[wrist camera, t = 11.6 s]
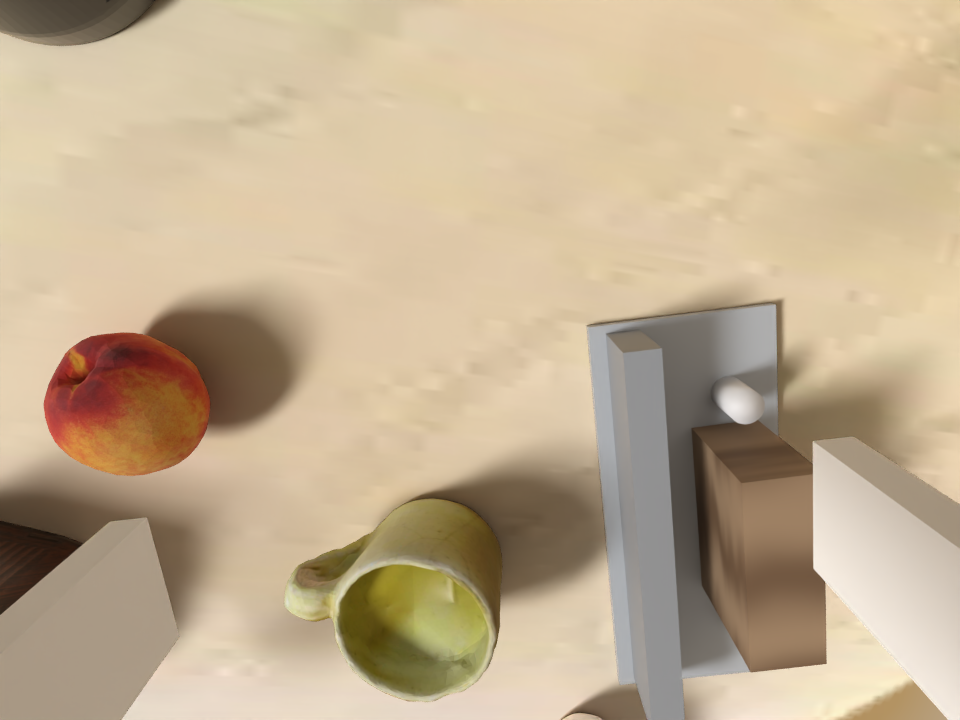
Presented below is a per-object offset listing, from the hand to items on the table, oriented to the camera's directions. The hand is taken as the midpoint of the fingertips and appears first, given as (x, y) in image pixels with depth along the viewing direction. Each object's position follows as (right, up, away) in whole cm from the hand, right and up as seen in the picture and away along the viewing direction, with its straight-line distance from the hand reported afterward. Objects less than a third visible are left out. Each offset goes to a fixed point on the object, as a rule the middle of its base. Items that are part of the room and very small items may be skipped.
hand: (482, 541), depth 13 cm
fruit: (-19, +2, +27) cm, 34 cm away
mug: (-5, -9, +30) cm, 32 cm away
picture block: (+16, -6, +28) cm, 33 cm away
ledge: (+13, -6, +29) cm, 32 cm away
